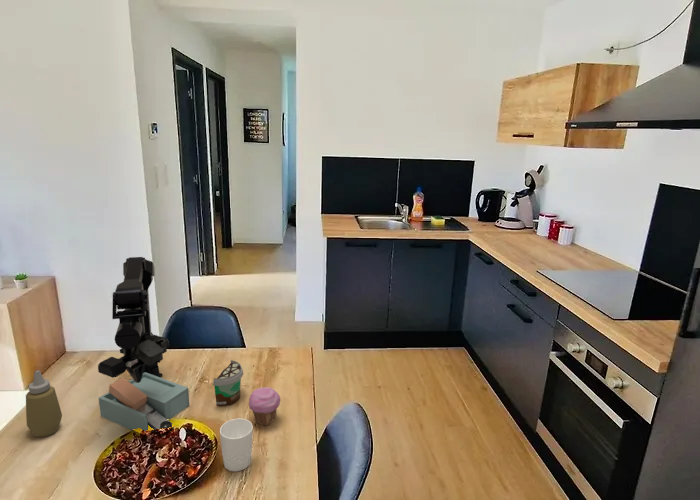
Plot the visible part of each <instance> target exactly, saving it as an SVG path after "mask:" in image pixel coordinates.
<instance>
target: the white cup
mask: <svg viewBox="0 0 700 500" xmlns="http://www.w3.org/2000/svg"><path fill="white" fill-rule="evenodd" d="M253 429H254V428H253V423H252V422H251V421H250V420H249V419H246V418H233V419H229V420H227V421H225V422H224V423H223V424H222V425H221V426H220V428H219V433H220V434H219V435H220V437H219V438H220V445H221V446H220V447H221V454H222V460H223V461H222V463H223V465H224V468H225V469H227V470H228V471H229V472H239V471H243V470H245V469H247V468H248V467H249V466H250V464H251V462H252V451H253V435H254V434H253V432H254V431H253Z"/></svg>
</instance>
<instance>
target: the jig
mask: <svg viewBox="0 0 700 500" xmlns="http://www.w3.org/2000/svg"><path fill="white" fill-rule="evenodd" d="M127 381H128V380H127ZM128 382H130V383H131V384H132V385H134V386H135V387H136V388H138V389H139V390H140V391H142V392H143V393H144V394H146V395H147V401H146V404H147V405H149V406H150V407H151V408H153V409H155V410H156V411H157V412H158V413H159V414H160V415H162V416H163V417H164V418H166V419H169V420H171V419H173V418H174V417H175V416H177V415H178V414H180V413H181V412H183V411H184V410H185V409H187V408H188V407H189V406H190V393H189V391H190V390H189V387H188V386H185V385H181V384H180V383H177V382H173V381H171V380H169V379H166V378H163V377H157V376H155V375H152V374H149V373H146V372H145V373H143V376H142V379H141V382H139V383H136V382H135V381H134V379H133V378H132V379H130V380H129V381H128ZM115 399H116V397H115V396H113V395H112V394H111V393H109V391H108V392H106V393H104V394H103V395H101V396H99V397H98V405H99V412H100V413H99V415H100V417H101V418H103V419H106V420H108V421H111V422H113V423H115V424H117V425H119V426H120V427H121V426H122V427H124V428H126V429H127V430H131V431H133V429H137V428H141V429H142V430H144V431H146V430H148V423H147V415H146V414H144V413H142V412H139V411H137V410H134V409H132V408H129V407H127V406H125V405H122V404H121V403H119V402H118V401H117V400H115Z"/></svg>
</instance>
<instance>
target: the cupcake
mask: <svg viewBox="0 0 700 500" xmlns="http://www.w3.org/2000/svg"><path fill="white" fill-rule="evenodd" d="M280 403H281V395H279V393H278V392H277V391H276V390H275V389H273V388H272V387H267V386H266V387H265V386H264V387H258V388H256V389H254V390H253V391H252V393H251V394H250V396H249V398H248V407H249V409H250V410H251V412H252V414H253V417H254V419H255V422H256V423H258V424H260V425H262V426H265V427H267V426H269V425H270V424H271V423H272V422H273V420H275V419H276V417H277V409H278V408H279V406H280V405H281V404H280Z"/></svg>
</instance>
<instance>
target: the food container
mask: <svg viewBox="0 0 700 500" xmlns="http://www.w3.org/2000/svg"><path fill="white" fill-rule="evenodd" d="M243 377H244V371H243V366H242V365H241V363H239V361H236V360H232V359H230V363H229V365H228V366H227V367H226V368H224V369H223V370H222V371H221V372H220V374H219V376H218V377H217V378H213V381H212V386H213V387H214V394H215V395H214V396H215V404H216V407H227V406H231V405H233V404H235V403H237V402H238V401H239V400H240V397H241V381H242V378H243Z"/></svg>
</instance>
